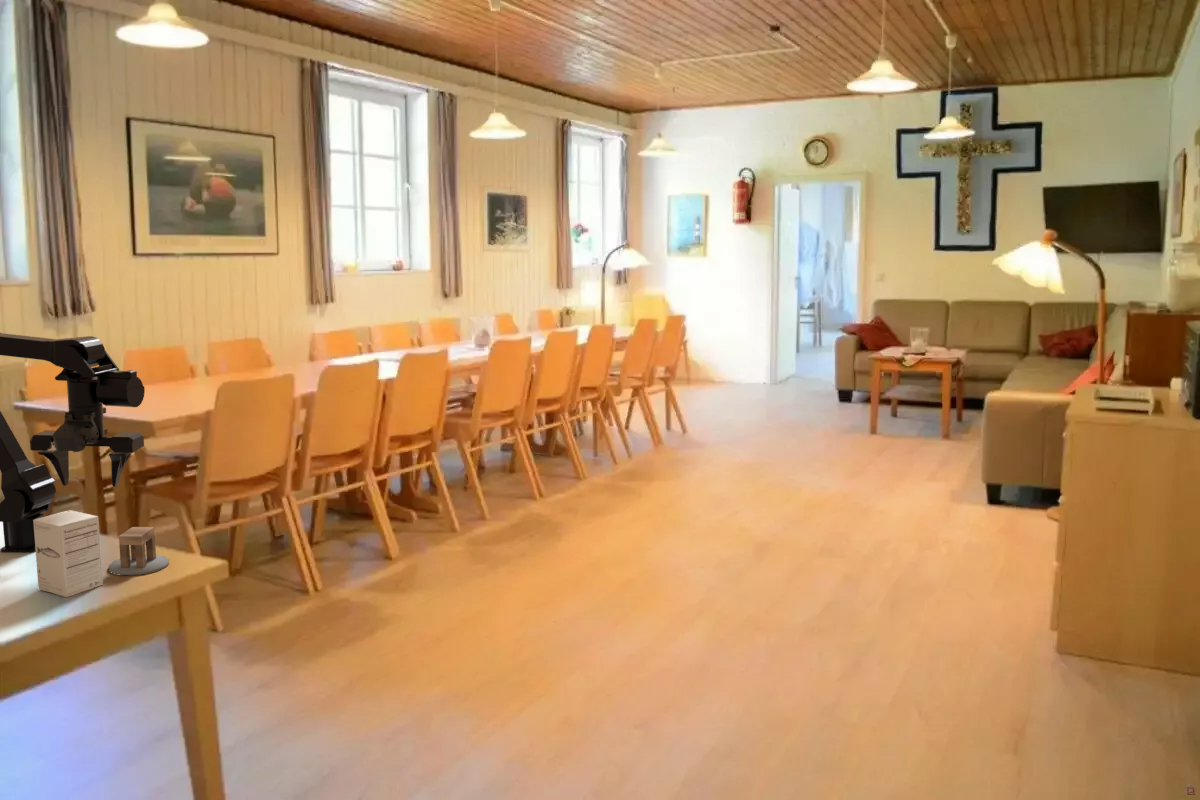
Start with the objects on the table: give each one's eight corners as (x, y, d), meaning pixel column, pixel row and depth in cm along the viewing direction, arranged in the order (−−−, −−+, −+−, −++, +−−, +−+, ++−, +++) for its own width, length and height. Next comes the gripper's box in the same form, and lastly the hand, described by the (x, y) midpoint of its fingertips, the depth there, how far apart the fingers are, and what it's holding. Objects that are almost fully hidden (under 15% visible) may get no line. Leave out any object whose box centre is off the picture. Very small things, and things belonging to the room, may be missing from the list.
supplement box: (37, 590, 171) (31, 519, 169) (77, 577, 177) (71, 508, 175) (64, 598, 167) (58, 525, 165) (104, 585, 174) (99, 514, 172)
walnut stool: (134, 558, 186) (132, 527, 185) (156, 558, 186) (154, 527, 185) (120, 568, 181) (118, 536, 180) (143, 568, 181) (141, 536, 180)
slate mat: (98, 575, 178) (98, 572, 178) (123, 557, 188) (122, 554, 188) (155, 575, 179) (155, 572, 179) (177, 557, 189) (177, 554, 188)
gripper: (10, 411, 179) (16, 496, 181) (116, 413, 179) (121, 498, 182) (43, 400, 190) (48, 480, 192) (143, 402, 190) (147, 482, 193)
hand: (90, 485), depth 189 cm, fingers open, 9 cm apart
